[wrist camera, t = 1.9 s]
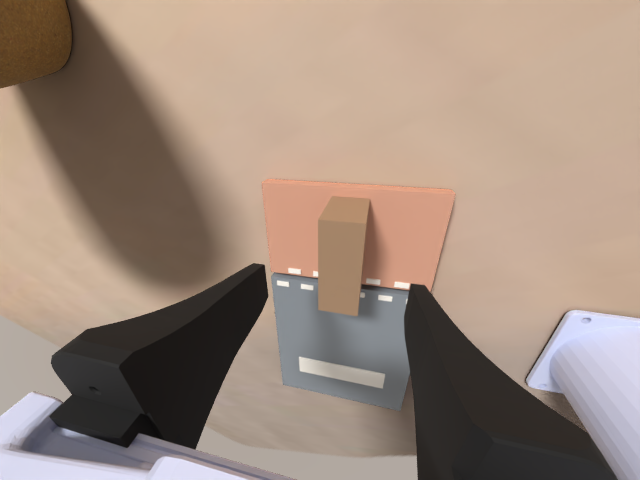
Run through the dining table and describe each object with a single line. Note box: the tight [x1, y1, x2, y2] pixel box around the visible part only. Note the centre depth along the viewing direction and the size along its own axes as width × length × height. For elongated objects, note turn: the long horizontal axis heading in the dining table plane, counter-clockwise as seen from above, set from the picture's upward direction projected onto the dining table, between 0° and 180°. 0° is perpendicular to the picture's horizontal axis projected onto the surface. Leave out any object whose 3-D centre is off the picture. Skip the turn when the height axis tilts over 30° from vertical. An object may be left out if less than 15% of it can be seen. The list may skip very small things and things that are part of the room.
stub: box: [262, 179, 456, 316], centre depth 16 cm, size 12×7×5 cm, turn 89°
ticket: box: [271, 272, 410, 411], centre depth 23 cm, size 12×14×1 cm
